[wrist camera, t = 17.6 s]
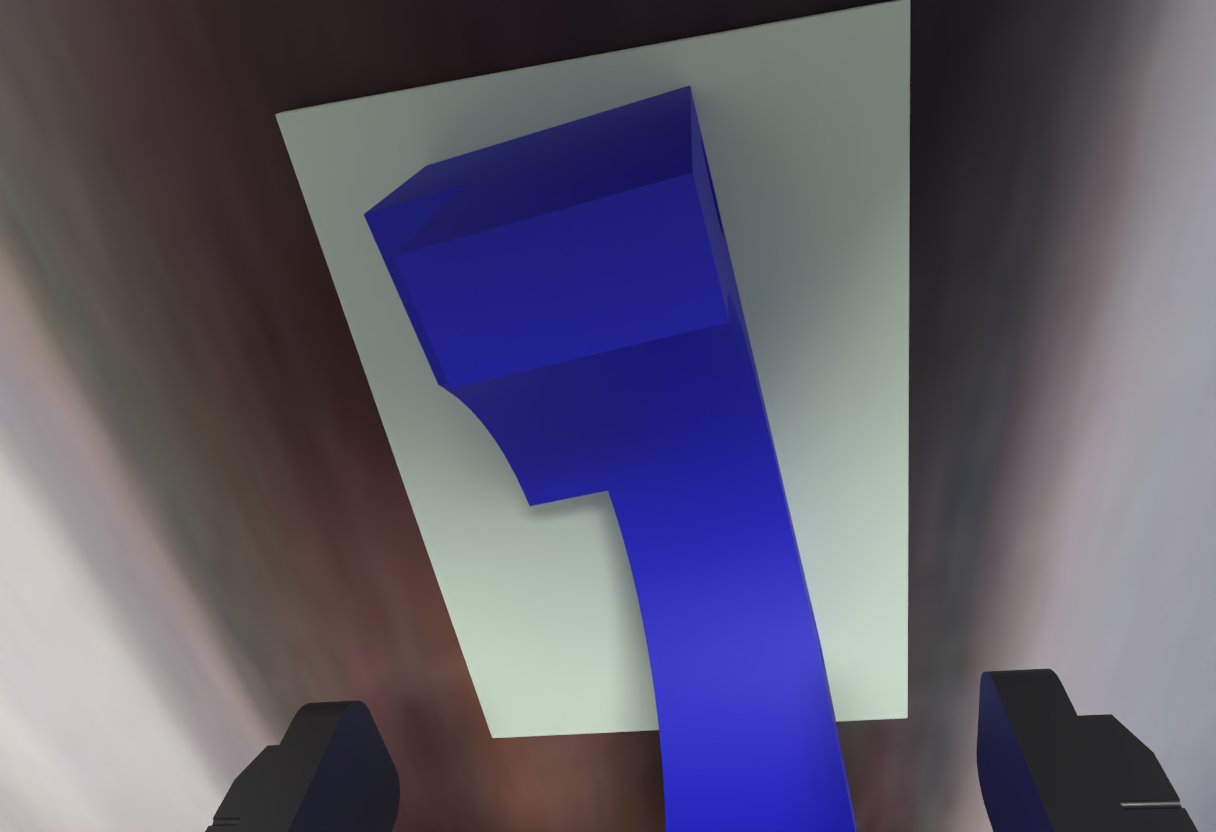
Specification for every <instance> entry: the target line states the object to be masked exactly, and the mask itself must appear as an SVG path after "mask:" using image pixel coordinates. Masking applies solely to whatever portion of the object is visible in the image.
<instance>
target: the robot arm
mask: <svg viewBox="0 0 1216 832" xmlns="http://www.w3.org/2000/svg"><path fill="white" fill-rule="evenodd" d="M977 768H978V776H979V782H980V787H981V792H982V796H983V800H984V804H985V807H986V810H987V814H988V817H989V820H990V823H991V826H992V829H993V832H1198V831H1197V829H1196V827H1195V825H1194V823H1193V822H1192V820H1191V818H1190V816H1189V815H1188V813H1187V811H1186V809H1185V808H1182V807H1181V805H1180V799H1179V797H1178V795H1177V793H1176V792H1175V790H1174V788H1173V786H1172V785H1171V783H1170V781H1169V779H1168V778H1167V776H1166V774H1165V772H1164V771H1163V769H1162V767H1161V765H1160V763H1159V762H1158V760H1157V758H1156V756H1155V755H1154V753H1153V752H1152V751H1151V750H1150V749H1149V748H1148V747H1147V746H1145V745H1144V744H1143V743H1142V742H1141V741H1140V740H1139V739H1138V738H1137V737H1136V736H1134V735H1133V734H1132V733H1131V732H1130V731H1129V730H1128V729H1127V728H1126V727H1125V726H1123V725H1122V724H1121V723H1120V722H1119V721H1118V720H1117V719H1116V718H1115V717H1114V716H1113V715H1111V714H1110V715H1085V716H1077V714H1076V712H1075V709H1074V707H1073V705H1072V703H1071V701H1070V699H1069V697H1068V695H1067V693H1066V691H1065V689H1064V687H1063V685H1062V683H1061V681H1060V680H1059V678H1058V676H1057V675H1056V674H1055V673H1054V671H1053V670H1051V669H1031V670H1011V671H991V672H984V673H983V674H982V676H981V683H980V700H979V719H978V737H977ZM399 799H400V785H399V777H398V773H397V770H396V768H395V766H394V763H393V761H392V759H391V757H390V755H389V753H388V750H387V748H386V746H385V744H384V742H383V739H382V737H381V735H380V733H379V731H378V729H377V726H376V724H375V722H374V720H373V718H372V716H371V713H370V711H369V709H368V707H367V706H366V705H365V704H364V703H363V702H362V701H341V702H320V703H308V704H306V705H304V706H303V707H301V708H300V710H299V711H298V712H297V713H296V715H295V717H294V719H293V720H292V722H291V724H290V726H289V728H288V730H287V732H286V734H285V735H284V737H283V739H282V741H281V743H280V745H272V746H267V747H266V748H265V749H264V750H263V751H262V752H261V753H260V754H259V755H258V756H257V757H256V758H255V759H254V760H253V761H252V762H251V763H250V764H249V765H248V766H247V767H246V768H245V770H244V771H243V772H242V773H241V774H240V775H239V776H238V777H237V778H236V779H235V780H234V782H233V784H232V785H231V787H230V789H229V791H228V793H227V794H226V796H225V798H224V800H223V801H222V803H221V805H220V807H219V808H218V810H217V812H216V814H215V816H214V817H213V820H214V821H213V825H212V826H208V828H207V830H206V831H205V832H392V829H393V826H394V824H395V820H396V817H397V813H398V808H399Z"/></svg>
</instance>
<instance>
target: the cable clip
mask: <svg viewBox="0 0 1216 832" xmlns="http://www.w3.org/2000/svg"><path fill="white" fill-rule="evenodd" d="M363 215H364V217H365V219H366V221H367V224H368V226H369V228H370V230H371V233H372V235H373V237H374V240H375V242H376V244H377V246H378V249H379V251H380V253H381V256H382V258H383V260H384V262H385V265H386V267H387V269H388V271H389V274H390V276H391V278H392V281H393V283H394V285H395V287H396V290H397V292H398V294H399V297H400V299H401V301H402V303H403V306H404V308H405V310H406V312H407V315H408V317H409V319H410V322H411V324H412V326H413V328H414V331H415V333H416V335H417V338H418V340H419V342H420V344H421V347H422V349H423V351H424V354H425V356H426V358H427V360H428V363H429V365H430V367H431V369H432V372H433V374H434V376H435V379H436V381H437V383H438V385H439V386H441V387H443V388H444V389H446V390H447V391H448V392H450V393H451V394H453V395H454V396H456V397H457V398H458V399H459V400H460V401H461V402H462V403H464V404H465V405H466V406H467V407H468V408H469V409H470V410H471V411H472V412H473V413H474V414H475V416H476V417H477V418H478V419H479V420H480V421H481V422H482V423H483V425H484V426H485V427H486V429H487V430H488V431H489V433H490V434H491V435H492V437H493V438H494V440H495V441H496V443H497V444H498V446H499V447H500V449H501V451H502V452H503V454H504V455H505V457H506V459H507V461H508V463H509V464H510V466H511V468H512V470H513V472H514V474H515V475H516V477H517V480H518V482H519V484H520V486H521V488H522V490H523V492H524V494H525V497H526V499H527V501H528V504H529V506H534V505H539V504H544V503H549V502H554V501H559V500H564V499H569V498H573V497H578V496H583V495H588V494H593V493H598V492H603V491H608V493H609V496H610V498H611V501H612V504H613V508H614V511H615V514H616V517H617V520H618V523H619V527H620V530H621V534H622V537H623V541H624V544H625V548H626V551H627V555H628V559H629V563H630V567H631V571H632V575H633V579H634V583H635V588H636V592H637V596H638V601H639V606H640V611H641V616H642V620H643V625H644V631H645V636H646V642H647V647H648V653H649V659H650V666H651V672H652V678H653V686H654V693H655V700H656V708H657V716H658V725H659V734H660V745H661V756H662V767H663V782H664V797H665V820H666V832H858V830H857V825H856V820H855V815H854V810H853V804H852V799H851V794H850V789H849V784H848V779H847V774H846V769H845V764H844V759H843V754H842V749H841V744H840V739H839V733H838V728H837V723H836V718H835V713H834V708H833V703H832V698H831V693H830V688H829V683H828V678H827V673H826V668H825V663H824V657H823V652H822V647H821V643H820V639H819V634H818V630H817V626H816V621H815V617H814V613H813V609H812V604H811V600H810V596H809V591H808V587H807V583H806V579H805V574H804V570H803V566H802V562H801V557H800V553H799V549H798V544H797V540H796V536H795V532H794V527H793V523H792V519H791V515H790V510H789V506H788V502H787V497H786V493H785V489H784V485H783V480H782V476H781V472H780V467H779V463H778V459H777V455H776V450H775V446H774V442H773V438H772V433H771V429H770V425H769V420H768V416H767V412H766V408H765V403H764V399H763V395H762V391H761V386H760V382H759V378H758V373H757V369H756V365H755V361H754V356H753V352H752V348H751V344H750V339H749V335H748V331H747V326H746V322H745V318H744V314H743V309H742V305H741V301H740V296H739V292H738V288H737V284H736V279H735V275H734V271H733V267H732V262H731V258H730V254H729V249H728V245H727V241H726V237H725V232H724V228H723V224H722V220H721V215H720V211H719V207H718V202H717V198H716V194H715V190H714V185H713V181H712V177H711V172H710V168H709V164H708V160H707V155H706V151H705V147H704V143H703V138H702V134H701V130H700V125H699V121H698V117H697V113H696V108H695V104H694V100H693V96H692V91H691V87H690V86H686V87H683V88H680V89H676V90H673V91H670V92H667V93H663V94H660V95H657V96H653V97H650V98H647V99H644V100H640V101H637V102H634V103H630V104H627V105H624V106H621V107H617V108H614V109H611V110H607V111H604V112H601V113H598V114H594V115H591V116H588V117H584V118H581V119H578V120H575V121H571V122H568V123H565V124H561V125H558V126H555V127H552V128H548V129H545V130H542V131H538V132H535V133H532V134H529V135H525V136H522V137H519V138H515V139H512V140H509V141H506V142H502V143H499V144H496V145H492V146H489V147H486V148H483V149H479V150H476V151H473V152H469V153H466V154H463V155H460V156H456V157H453V158H450V159H446V160H443V161H440V162H437V163H433V164H430V165H427V166H425V167H424V168H422V169H421V170H420V171H419V172H417V173H416V174H415V175H413V176H412V177H411V178H410V179H408V180H407V181H406V182H404V183H403V184H402V185H401V186H399V187H398V188H397V189H395V190H394V191H393V192H392V193H390V194H389V195H388V196H386V197H385V198H384V199H383V200H381V201H380V202H379V203H377V204H376V205H375V206H374V207H372V208H371V209H370V210H368V211H367V212H366V213H365V214H363Z"/></svg>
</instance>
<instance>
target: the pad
mask: <svg viewBox="0 0 1216 832" xmlns="http://www.w3.org/2000/svg"><path fill="white" fill-rule="evenodd" d="M686 86H690V87H691V91H692V96H693V100H694V104H695V108H696V113H697V117H698V121H699V125H700V130H701V134H702V138H703V143H704V147H705V151H706V155H707V160H708V164H709V168H710V172H711V177H712V181H713V185H714V190H715V194H716V198H717V202H718V207H719V211H720V215H721V220H722V224H723V228H724V232H725V237H726V241H727V245H728V249H729V254H730V258H731V262H732V267H733V271H734V275H735V279H736V284H737V288H738V292H739V296H740V301H741V305H742V309H743V314H744V318H745V322H746V326H747V331H748V335H749V339H750V344H751V348H752V352H753V356H754V361H755V365H756V369H757V373H758V378H759V382H760V386H761V391H762V395H763V399H764V403H765V408H766V412H767V416H768V420H769V425H770V429H771V433H772V438H773V442H774V446H775V450H776V455H777V459H778V463H779V467H780V472H781V476H782V480H783V485H784V489H785V493H786V497H787V502H788V506H789V510H790V515H791V519H792V523H793V527H794V532H795V536H796V540H797V544H798V549H799V553H800V557H801V562H802V566H803V570H804V574H805V579H806V583H807V587H808V591H809V596H810V600H811V604H812V609H813V613H814V617H815V621H816V626H817V630H818V634H819V639H820V643H821V647H822V652H823V657H824V663H825V668H826V673H827V678H828V683H829V688H830V693H831V698H832V703H833V708H834V713H835V718H836V721H856V720H877V719H898V718H907V700H908V449H909V198H910V0H894V1H888V2H883V3H877V4H872V5H866V6H861V7H855V8H850V9H844V10H839V11H833V12H828V13H822V14H817V15H811V16H806V17H800V18H795V19H789V20H784V21H778V22H773V23H767V24H762V25H756V26H751V27H745V28H740V29H734V30H729V31H723V32H718V33H712V34H707V35H701V36H696V37H690V38H685V39H679V40H674V41H668V42H663V43H657V44H652V45H646V46H641V47H635V48H630V49H624V50H619V51H613V52H608V53H602V54H597V55H591V56H586V57H580V58H575V59H569V60H564V61H558V62H553V63H547V64H542V65H536V66H531V67H525V68H520V69H514V70H509V71H503V72H498V73H492V74H487V75H481V76H476V77H471V78H465V79H460V80H454V81H449V82H443V83H438V84H432V85H427V86H421V87H416V88H410V89H405V90H399V91H394V92H388V93H383V94H377V95H372V96H366V97H361V98H355V99H350V100H344V101H339V102H333V103H328V104H322V105H317V106H311V107H306V108H300V109H295V110H289V111H284V112H281V113H278V114H275V116H276V119H277V122H278V125H279V127H280V130H281V133H282V136H283V139H284V142H285V145H286V147H287V150H288V153H289V156H290V159H291V162H292V165H293V168H294V170H295V173H296V176H297V179H298V182H299V185H300V188H301V190H302V193H303V196H304V199H305V202H306V205H307V208H308V211H309V213H310V216H311V219H312V222H313V225H314V228H315V231H316V234H317V236H318V239H319V242H320V245H321V248H322V251H323V254H324V256H325V259H326V262H327V265H328V268H329V271H330V274H331V277H332V279H333V282H334V285H335V288H336V291H337V294H338V297H339V299H340V302H341V305H342V308H343V311H344V314H345V317H346V320H347V322H348V325H349V328H350V331H351V334H352V337H353V340H354V343H355V345H356V348H357V351H358V354H359V357H360V360H361V363H362V365H363V368H364V371H365V374H366V377H367V380H368V383H369V386H370V388H371V391H372V394H373V397H374V400H375V403H376V406H377V408H378V411H379V414H380V417H381V420H382V423H383V426H384V429H385V431H386V434H387V437H388V440H389V443H390V446H391V449H392V452H393V454H394V457H395V460H396V463H397V466H398V469H399V472H400V474H401V477H402V480H403V483H404V486H405V489H406V492H407V495H408V497H409V500H410V503H411V506H412V509H413V512H414V515H415V517H416V520H417V523H418V526H419V529H420V532H421V535H422V538H423V540H424V543H425V546H426V549H427V552H428V555H429V558H430V561H431V563H432V566H433V569H434V572H435V575H436V578H437V581H438V583H439V586H440V589H441V592H442V595H443V598H444V601H445V604H446V606H447V609H448V612H449V615H450V618H451V621H452V624H453V626H454V629H455V632H456V635H457V638H458V641H459V644H460V647H461V649H462V652H463V655H464V658H465V661H466V664H467V667H468V670H469V672H470V675H471V678H472V681H473V684H474V687H475V690H476V692H477V695H478V698H479V701H480V704H481V707H482V710H483V713H484V715H485V718H486V721H487V724H488V727H489V730H490V733H491V735H492V738H505V737H525V736H546V735H567V734H587V733H608V732H629V731H649V730H659V725H658V716H657V708H656V700H655V693H654V686H653V678H652V672H651V666H650V659H649V653H648V647H647V642H646V636H645V631H644V625H643V620H642V616H641V611H640V606H639V601H638V596H637V592H636V588H635V583H634V579H633V575H632V571H631V567H630V563H629V559H628V555H627V551H626V548H625V544H624V541H623V537H622V534H621V530H620V527H619V523H618V520H617V517H616V514H615V511H614V508H613V504H612V501H611V498H610V496H609V493H608V491H603V492H598V493H593V494H588V495H583V496H578V497H573V498H569V499H564V500H559V501H554V502H549V503H544V504H539V505H534V506H529V504H528V501H527V499H526V497H525V494H524V492H523V490H522V488H521V486H520V484H519V482H518V480H517V477H516V475H515V474H514V472H513V470H512V468H511V466H510V464H509V463H508V461H507V459H506V457H505V455H504V454H503V452H502V451H501V449H500V447H499V446H498V444H497V443H496V441H495V440H494V438H493V437H492V435H491V434H490V433H489V431H488V430H487V429H486V427H485V426H484V425H483V423H482V422H481V421H480V420H479V419H478V418H477V417H476V416H475V414H474V413H473V412H472V411H471V410H470V409H469V408H468V407H467V406H466V405H465V404H464V403H462V402H461V401H460V400H459V399H458V398H457V397H456V396H454V395H453V394H451V393H450V392H448V391H447V390H446V389H444V388H443V387H441V386H439V385H438V383H437V381H436V379H435V376H434V374H433V372H432V369H431V367H430V365H429V363H428V360H427V358H426V356H425V354H424V351H423V349H422V347H421V344H420V342H419V340H418V338H417V335H416V333H415V331H414V328H413V326H412V324H411V322H410V319H409V317H408V315H407V312H406V310H405V308H404V306H403V303H402V301H401V299H400V297H399V294H398V292H397V290H396V287H395V285H394V283H393V281H392V278H391V276H390V274H389V271H388V269H387V267H386V265H385V262H384V260H383V258H382V256H381V253H380V251H379V249H378V246H377V244H376V242H375V240H374V237H373V235H372V233H371V230H370V228H369V226H368V224H367V221H366V219H365V217H364V215H363V214H365V213H366V212H367V211H368V210H370V209H371V208H372V207H374V206H375V205H376V204H377V203H379V202H380V201H381V200H383V199H384V198H385V197H386V196H388V195H389V194H390V193H392V192H393V191H394V190H395V189H397V188H398V187H399V186H401V185H402V184H403V183H404V182H406V181H407V180H408V179H410V178H411V177H412V176H413V175H415V174H416V173H417V172H419V171H420V170H421V169H422V168H424V167H425V166H427V165H430V164H433V163H437V162H440V161H443V160H446V159H450V158H453V157H456V156H460V155H463V154H466V153H469V152H473V151H476V150H479V149H483V148H486V147H489V146H492V145H496V144H499V143H502V142H506V141H509V140H512V139H515V138H519V137H522V136H525V135H529V134H532V133H535V132H538V131H542V130H545V129H548V128H552V127H555V126H558V125H561V124H565V123H568V122H571V121H575V120H578V119H581V118H584V117H588V116H591V115H594V114H598V113H601V112H604V111H607V110H611V109H614V108H617V107H621V106H624V105H627V104H630V103H634V102H637V101H640V100H644V99H647V98H650V97H653V96H657V95H660V94H663V93H667V92H670V91H673V90H676V89H680V88H683V87H686Z"/></svg>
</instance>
